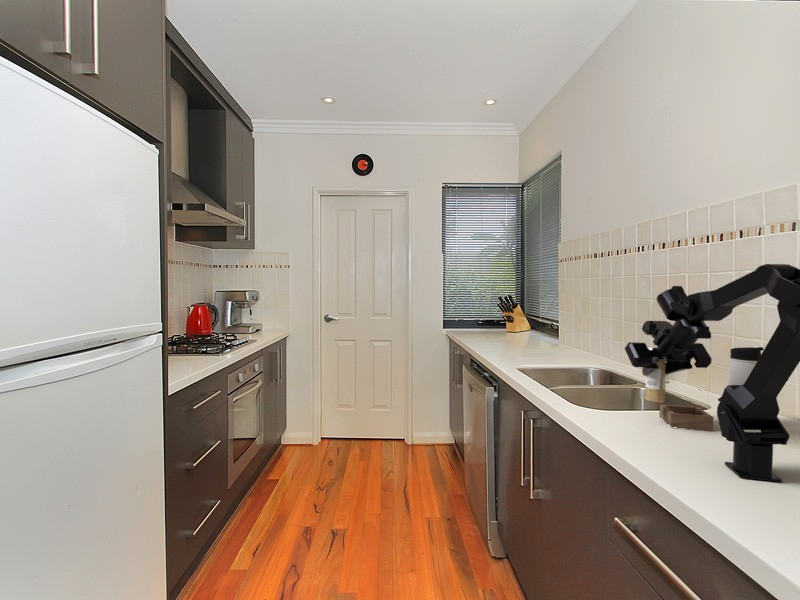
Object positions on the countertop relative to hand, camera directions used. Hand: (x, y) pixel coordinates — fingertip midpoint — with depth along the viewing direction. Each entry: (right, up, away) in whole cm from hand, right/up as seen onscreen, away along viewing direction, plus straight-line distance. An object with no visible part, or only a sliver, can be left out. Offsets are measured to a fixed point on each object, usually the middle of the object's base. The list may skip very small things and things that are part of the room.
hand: (652, 374), depth 112 cm
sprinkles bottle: (0, -7, -1) cm, 7 cm away
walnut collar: (+7, -12, -2) cm, 14 cm away
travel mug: (+23, -13, -1) cm, 26 cm away
